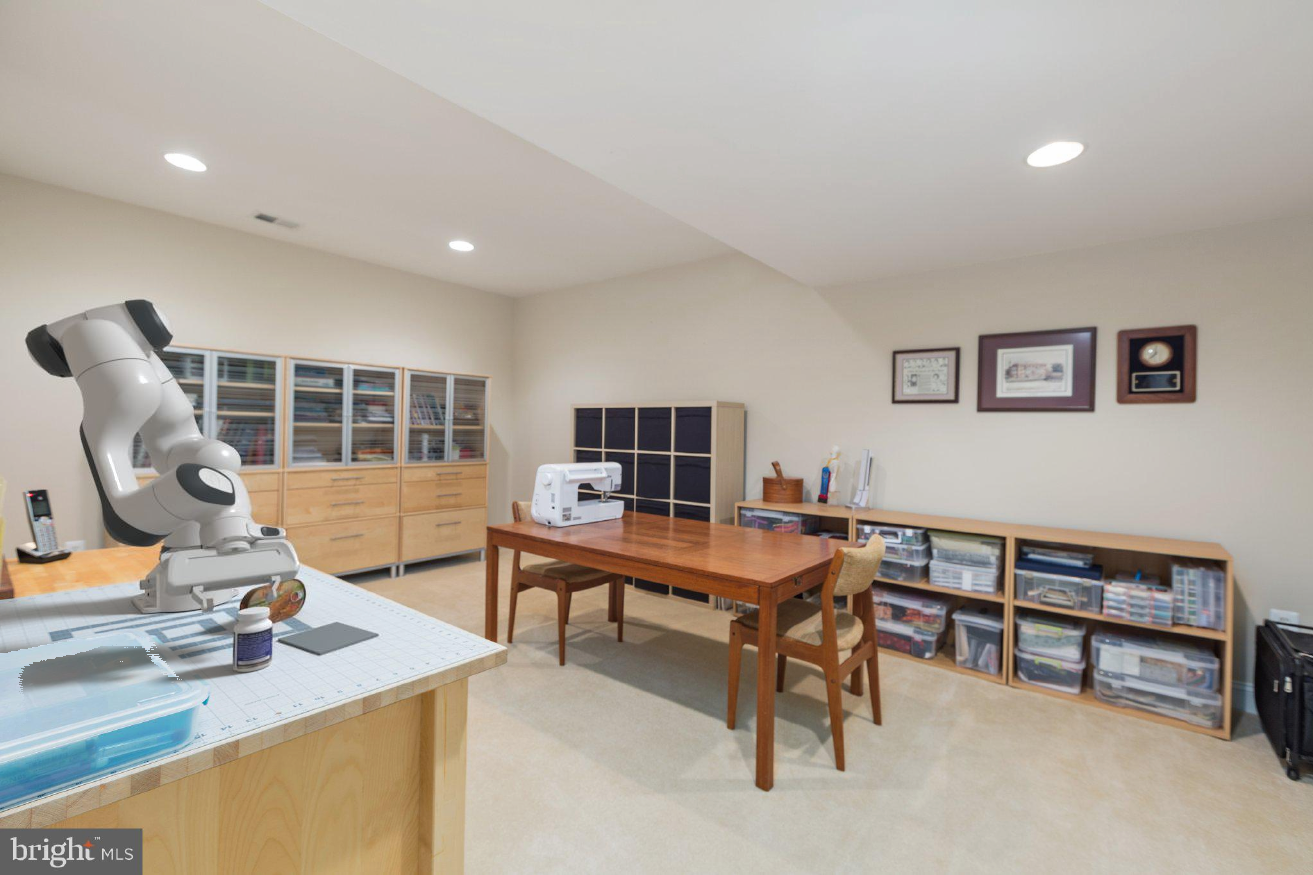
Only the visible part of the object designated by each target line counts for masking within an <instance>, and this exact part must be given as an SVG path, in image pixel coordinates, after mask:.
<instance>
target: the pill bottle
mask: <svg viewBox="0 0 1313 875" xmlns="http://www.w3.org/2000/svg"><path fill="white" fill-rule="evenodd" d="M236 613H237V615H236V620H237V621H238V623H237V624H236V625H234V628H233V633H232V635H233V636H232V670H233V671H235V672H238V673H248V672H249V673H251V672H255V671H260V670H262V669H265V668H267V667H268V666H269V665H271V664H272V661H273V637H274V635H273V632H274V631H273V630H274V627H273V625H274V624H273V623H272V621H271V620H269V619H268V616H269V615H270V608H268V607H253V608H247V609H243V610H241V611H239V610H238V611H237V612H236Z"/></svg>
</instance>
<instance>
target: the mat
mask: <svg viewBox="0 0 1313 875" xmlns="http://www.w3.org/2000/svg"><path fill="white" fill-rule="evenodd" d="M376 637H379V633H376V632H373V631H369V630H367V629H364V628H359V627H356V626H352V625H349V624H347V623H342V622H339V621H335V622H331V623H327V624H324V625H321V626H317V627H314V628H311V629H307V630H303V631H300V632H296V633H293V634H289V635H286V636H283V637H280V638H277V641H278V642H280V643H282V644H283V643H284V644H287V645H289V646H292V647H296V648H299V649H301V650H304V651H307V652H309V653H313V654H316V655H319V656H323V655H325V654H328V653H332V652H334V651H335V652H336V651H337V649H338V650H340V649H343V648H346V647H347V648H348V647H349V645H350V646H353V645H356V644H359V643H361V642H364V641H367V640H370V639H374V638H376Z"/></svg>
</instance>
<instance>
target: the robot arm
mask: <svg viewBox="0 0 1313 875" xmlns="http://www.w3.org/2000/svg"><path fill="white" fill-rule="evenodd" d="M173 338H174V335H173V328H172V323H171V321H170V320H169V318H168V316H167V315H166V314H165V312H164V311H163V310H161V309H160V308H159V307H158V306H156V305H155V304H154V303H153V302H151V301H149V300H146V299H142V298H141V299H140V298H139V299H138V298H137V299H130V300H129V299H128V300H125V301H124V302H121V303H115V304H109V305H104V306H103V305H102V306H99V307H95V308H90V309H87V310H84V311H83V312H80V313H77V314H74V315H71V316H68V317H64V318H62V319H59V320H56V321H54V322H52V323H49V324H46V323H45V324H41V325H39V326H37V327H35V328H33V329H31V330H30V331H28V332H27V335H26V337H25V339H24V342H25V345H26V349H27V352H28V355H29V357H30V358H31V360H32V361H33V363H35V364H36V365H37V366H38V367H39V368H41V369H43V371H44V372H46V373H48V374H49V375H51V376H54V377H59V378H62V379H64V378H74V380H75V382H76V384H77V386H78V388H79V390H80V393H81V398H82V401H83V402H82V403H83V414H82V420H81V423H80V425H79V430H78V431H79V435H80V436H79V437H80V441H81V445H82V448H83V452H84V454H85V457H86V460H87V464H88V466H89V470H90V473H91V476H92V478H93V481H94V484H95V488H96V490H97V493H98V496H99V499H100V504H101V512H102V522H103V526H104V529H105V531H106V533H107V534H108V536H110V538H112V539H113V541H116V542H118V543H120V544H122V545H125V546H131V547H137V548H147V547H149V548H151V547H154V546H155V545H157V544H159V543H160V542H162V541H163V545H161V546H160V547H161V548H160V551H159V553H158V554H159V556H158V561H159V562H158V564H156V565H155V566H154V567H153V568H152V570H151V571H149V573H147V574H146V576H145V579H141V580H139V590H140V591H144V592H143V593H140V594H136V595H134V596H131V602H132V603H133V605H135V607H136V608H137V609H138V610H139V611H140V612H141V613H142V614H153V613H168V612H169V613H172V612H185V611H193V610H200V609H201V613H202V614H203V613H210V612H213V611H214V608H215V606H218V605H222V604H223V603H226V602H229V601H230V600H231V599H232V598H233V597H235V596H237V595H239V594H240V592H239V589H238V588H244V587H252V586H259V585H267V584H269V585H270V587H272V589H270V590H266V593H265V599H266V600H265V601H266V602H273V601H276V599H277V593H276V589H277V587H278V585H279V583H280V582H281V581H288V580H293V579H296V577H297V575H298V574H299V571H300V567H301V565H300V564H301V563H300V561H299V557H298V554H297V552H296V549H295V547H294V546H293V543H291V542H290V541H289V540H287V538H286V536H287V531H286V529H284V528H283V527H276V526H270V525H266V524H260V523H256V522H255V521H254V519H253V518H252V511H253V507H252V503H251V499H250V495H249V492H248V490H247V486H246V485H245V482H244V481H243V480H242V478H241V477H240V476H239V475H238V474H239V472H240V469H241V467H242V459H241V456H240V454H239V452H238V450H236V449H235V448H234V447H233V446H231V445H229V444H228V443H226V442H224V441H221V440H218V439H214V438H213V439H212V438H205V437H204V436H203V434H202V433H201V431H200V430H199V426H198V424H197V422H196V418H195V410H194V406H193V405H192V402H191V401H190V400H189V398H188V396H186V394H185V393H184V392H185V391H183V389H182V388H181V386H180V384H179V382H177V380H176V378H175V377H174V376H173V375H172V373H171V371H170V370H169V369H168V367H167V366H166V365H165V363H164V362H163V361H162V360H161V358H160V357H159V356H158V355H157V354H156V353H155V351H157V352H159V353H160V354H162V353H164V352H165V351H164V349H165V348H166V347H167V346H169V345H170V344H171V342H172V340H173ZM137 433H138V434H139V437H140V438H141V440H142V443H143V445H144V448H145V449H146V451H147V454H148V456H149V457H150V459H151V465H152V468H153V469H154V471H155V472H156V473H158V475H159V476H157V477H156V478H155V479H153V480H151V481H149V482H148V483H145V484H144V485H142V486H139V483H138V479H137V478H136V477H137V476H136V474H135V470H134V468H133V466H132V462H131V460H130V455H129V450H130V446H131V443H132V441H133V439H134V437H135V436H136V434H137Z"/></svg>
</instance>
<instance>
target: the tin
mask: <svg viewBox="0 0 1313 875" xmlns="http://www.w3.org/2000/svg"><path fill="white" fill-rule="evenodd" d="M270 589H272V587H270V585H269V583H267V584H263V585H261V586H258V587H254V588H252V589H250V590H248V591H247V592H246V593H245V594H244V596H243V597H242V598H241V600H240V602H239V607H238V608H239V610H238V612H239V611H241V610H243V609H247V608H253V607H268V608H270V615H269V616H268V619H269V620H271V621H272V623H273V625H274V624H277V623H279V622H281V620H282V621H284V620H287V619H289V618H291V617H294V616H296V615H297V614H298V613H299V612H300V611H301V610H302V609H303V607H304V605H305V602H306V597H307V590H306V586H305V584H304V582H303V581H301V580H300V579H298V578H294V579H293V580H288V581H281V582H280V583H279V585H278V587H277V589H276V593H277V599H276V601H273V602H266V601H265V600H266V599H265V593H266V590H270Z"/></svg>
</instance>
